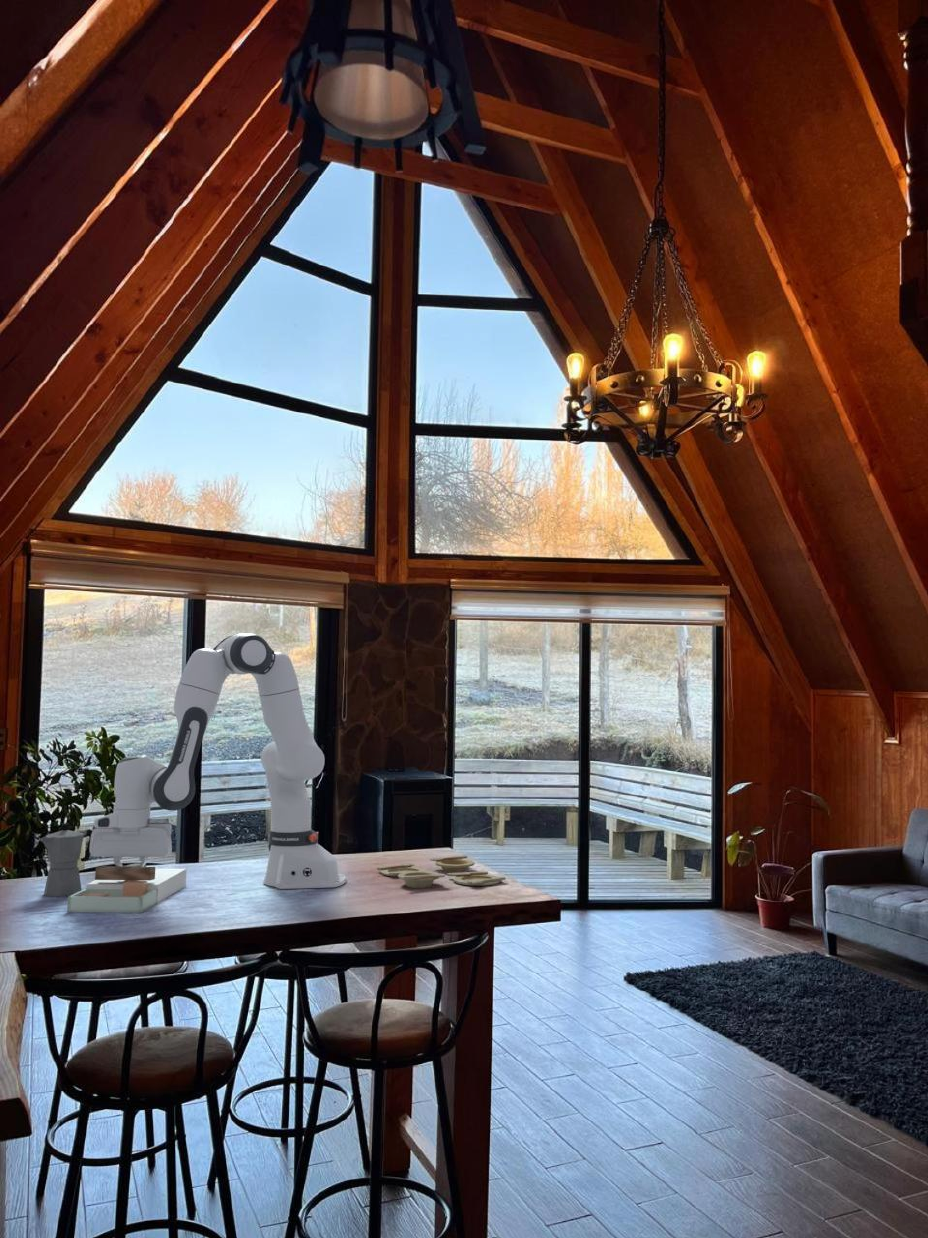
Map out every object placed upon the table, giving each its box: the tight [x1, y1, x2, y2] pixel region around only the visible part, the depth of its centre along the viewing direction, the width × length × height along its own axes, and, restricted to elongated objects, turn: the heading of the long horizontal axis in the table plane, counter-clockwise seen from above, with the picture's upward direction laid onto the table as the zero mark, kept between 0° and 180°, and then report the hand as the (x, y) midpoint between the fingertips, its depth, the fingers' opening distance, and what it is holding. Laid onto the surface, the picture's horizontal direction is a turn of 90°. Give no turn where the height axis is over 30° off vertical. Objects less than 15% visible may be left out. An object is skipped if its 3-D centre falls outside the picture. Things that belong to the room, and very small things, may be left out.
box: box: [66, 887, 158, 914], centre depth 225 cm, size 18×10×4 cm, turn 88°
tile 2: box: [83, 893, 109, 897], centre depth 224 cm, size 5×5×2 cm
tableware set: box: [376, 854, 507, 889], centre depth 263 cm, size 35×29×4 cm
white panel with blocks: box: [85, 868, 187, 904], centre depth 241 cm, size 18×21×4 cm
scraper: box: [94, 862, 156, 880], centre depth 236 cm, size 14×11×3 cm
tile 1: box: [123, 881, 147, 897], centre depth 228 cm, size 5×5×2 cm
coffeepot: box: [39, 822, 93, 898], centre depth 242 cm, size 15×9×18 cm, turn 144°
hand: (130, 874), depth 235 cm, fingers closed on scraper, 3 cm apart
